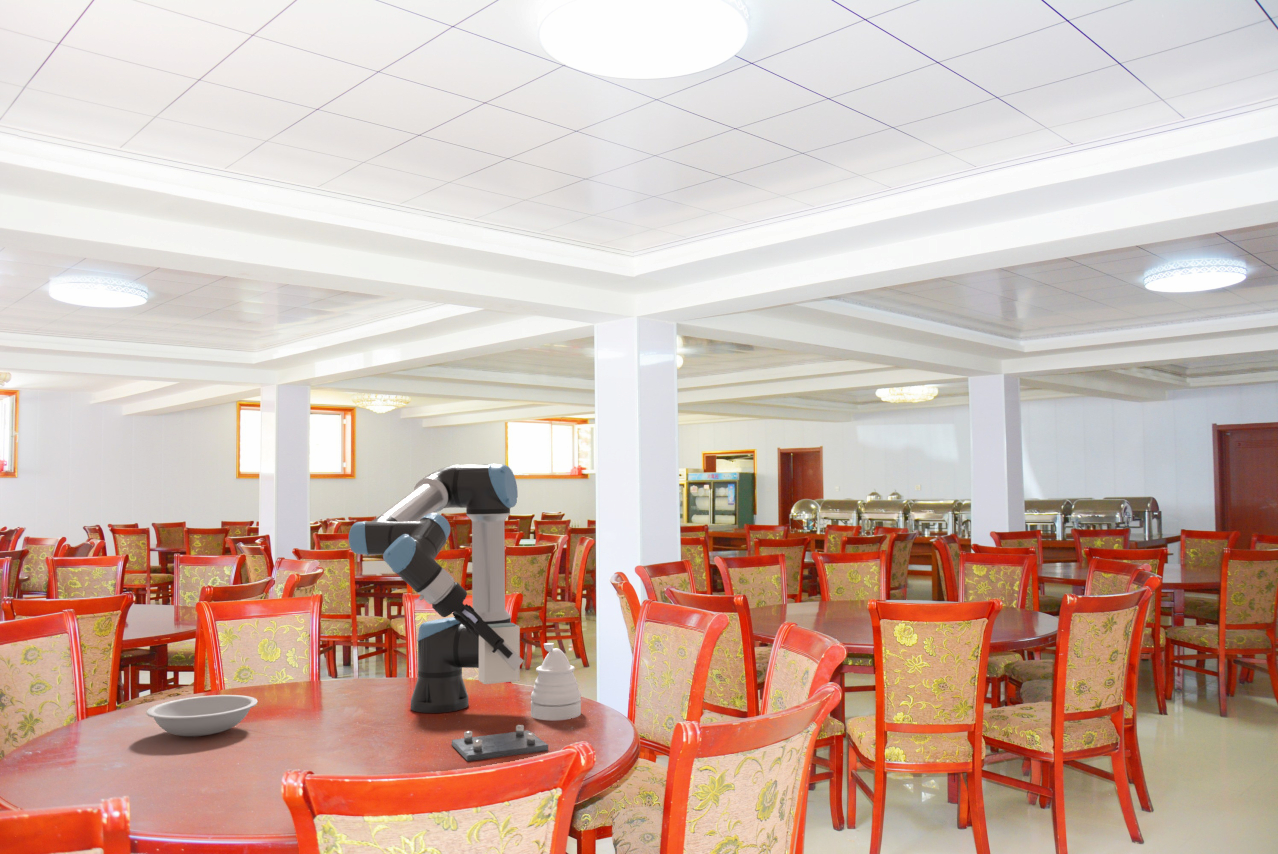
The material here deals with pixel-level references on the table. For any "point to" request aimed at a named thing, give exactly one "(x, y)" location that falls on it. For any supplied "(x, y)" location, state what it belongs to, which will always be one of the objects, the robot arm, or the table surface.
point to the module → (493, 663)
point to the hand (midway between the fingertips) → (515, 663)
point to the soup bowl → (201, 714)
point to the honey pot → (555, 688)
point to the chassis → (498, 744)
